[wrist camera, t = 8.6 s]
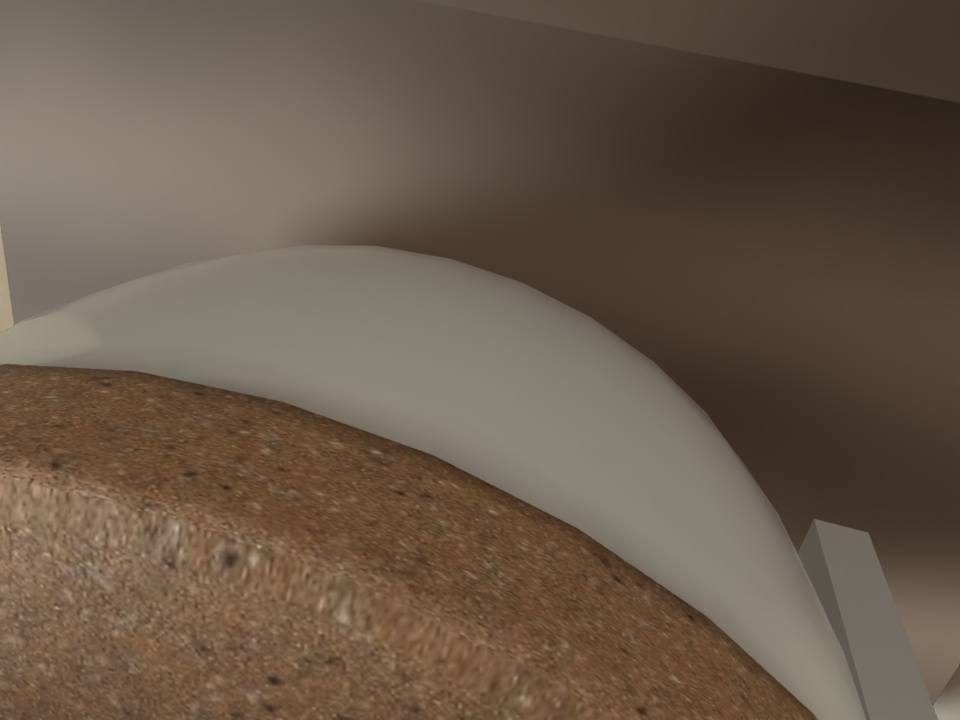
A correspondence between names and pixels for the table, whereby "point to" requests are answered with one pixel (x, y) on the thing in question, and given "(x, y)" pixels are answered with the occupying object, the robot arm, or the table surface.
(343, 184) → the riser block
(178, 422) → the lidded jar
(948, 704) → the table surface
